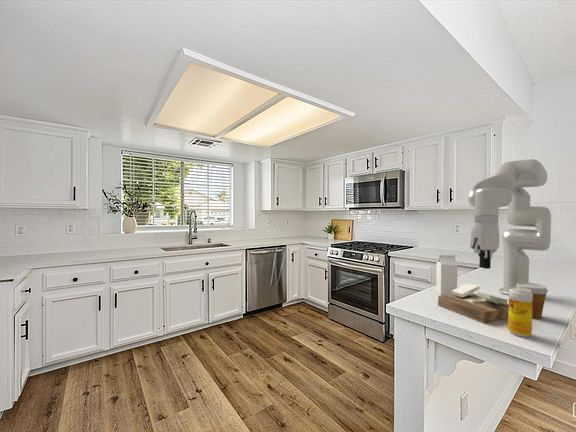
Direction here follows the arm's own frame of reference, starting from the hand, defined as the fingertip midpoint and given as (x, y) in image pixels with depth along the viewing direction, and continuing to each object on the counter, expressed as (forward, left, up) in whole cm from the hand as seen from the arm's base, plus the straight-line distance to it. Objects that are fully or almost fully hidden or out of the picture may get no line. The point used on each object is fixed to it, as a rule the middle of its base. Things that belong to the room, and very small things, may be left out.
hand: (484, 267), depth 110 cm
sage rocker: (-4, 0, -13) cm, 14 cm away
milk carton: (-10, -26, -19) cm, 34 cm away
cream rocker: (-4, -11, -13) cm, 18 cm away
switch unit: (-2, -5, -19) cm, 20 cm away
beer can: (+4, +15, -19) cm, 24 cm away
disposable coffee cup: (-18, +6, -19) cm, 27 cm away
